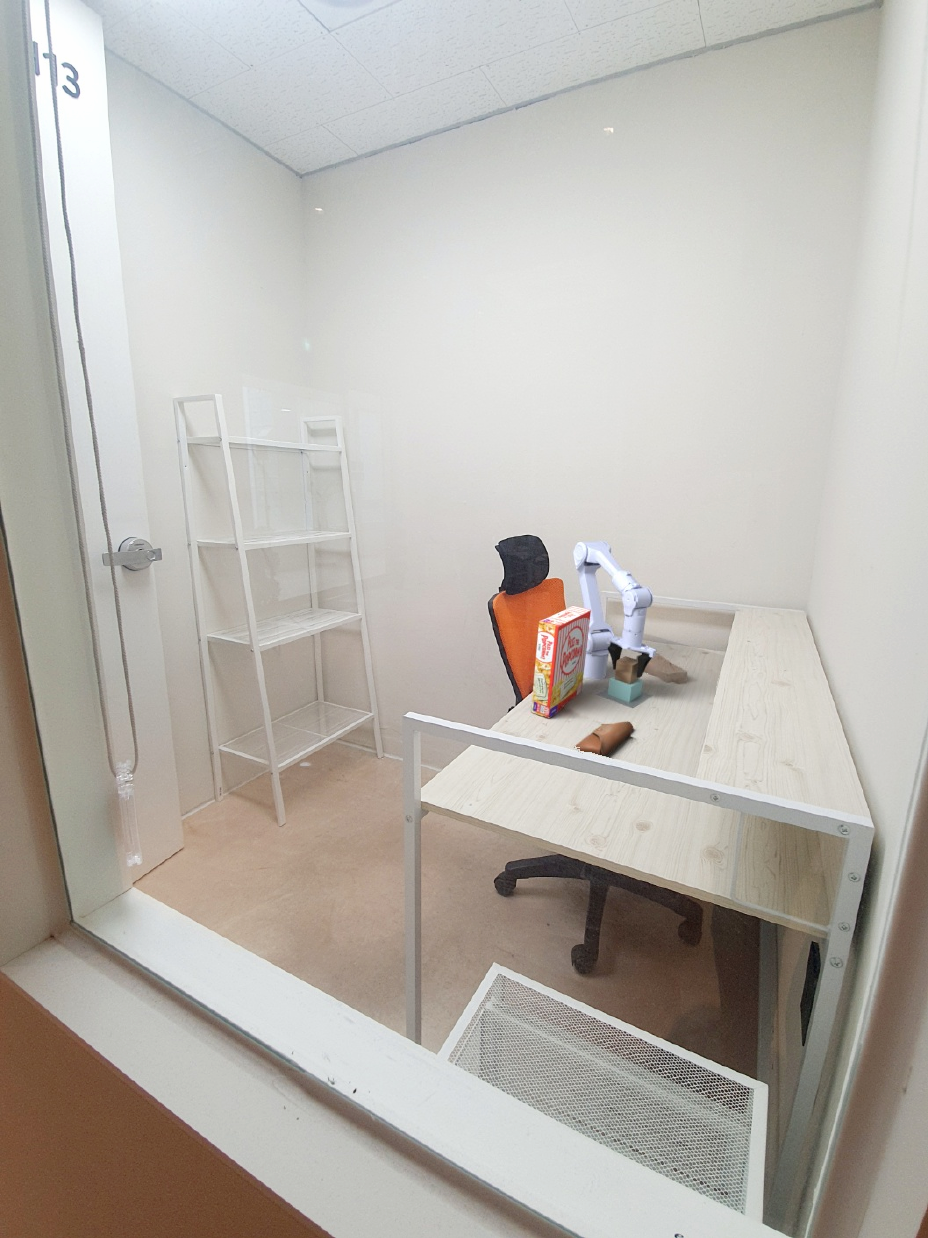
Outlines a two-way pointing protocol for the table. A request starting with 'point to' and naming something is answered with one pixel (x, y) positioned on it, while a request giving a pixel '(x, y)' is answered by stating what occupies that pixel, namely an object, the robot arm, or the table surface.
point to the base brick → (625, 689)
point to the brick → (665, 670)
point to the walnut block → (626, 670)
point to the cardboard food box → (560, 660)
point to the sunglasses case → (606, 738)
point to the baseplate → (630, 704)
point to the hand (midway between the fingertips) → (627, 672)
